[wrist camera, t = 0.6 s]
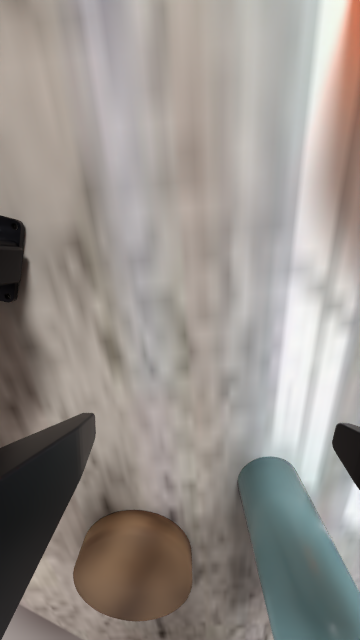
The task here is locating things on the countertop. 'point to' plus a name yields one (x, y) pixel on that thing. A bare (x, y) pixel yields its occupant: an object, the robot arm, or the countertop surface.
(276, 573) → the teal tapered cylinder
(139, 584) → the base plate
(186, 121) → the countertop surface
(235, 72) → the countertop surface
